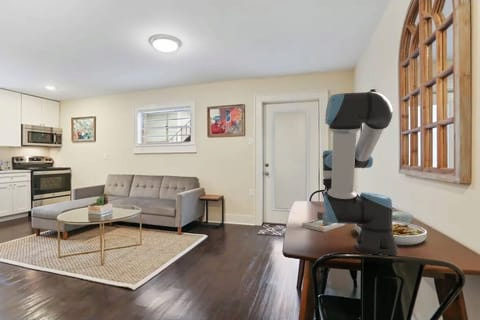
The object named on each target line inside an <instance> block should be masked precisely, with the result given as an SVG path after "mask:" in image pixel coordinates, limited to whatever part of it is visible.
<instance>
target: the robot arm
mask: <svg viewBox="0 0 480 320" xmlns="http://www.w3.org/2000/svg"><path fill="white" fill-rule="evenodd" d="M392 118H393V107H392V105H391V102H390V101H389V100H388V98H387V97H385V96H384V95H383V94H381V93H379V92H375V91H366V92H363V91H362V92H342V93H335V94H332V95H331V96H330V97H329V98H328V100H327V104H326V110H325V118H324V119H325V120H324V121H325V122H324V123H325V124H326V125H327V126H328V125H329V127H328V128H329V130H330V131H331V132H332V150H330V149H329V150H323V152H322V157H321V158H322V178H323V179H322V183H323V186H324V190H323V191H321V195H322V200H323V207H324V212H325V213H326V218H327V220H328V221H329V222H330V223H338V224H339V223H342V224H347V225H349V224H350V225H355V224H361V231H360V234H359V233H358V237H357V240H356V249H358V251H360V252H363V253H366V254H369V255H373V254H382V255H392V256H396V255H397V254H398V253H399V251H398V250H399V248H398V245H397V244H396V241H395V239H394V236H393V233H392V212H393V209H394V207H393V200H392V199H391V197H389V196H387V195H383V194H378V193H373V192H360V193H359V195H358V193H357V192H356V191H355V189H354V183H355V182H354V181H355V169H369V168H371V167H372V166H373V163H374V156H373V154H372V153H373V151H374V149H375V147H376V145H377V143H378V141H379V139H380V137H381V135H382V134H383V132H384V129H386V128H387V127H389V125H390V123H391V122H392ZM362 124H363V127H362ZM361 128H362V129H361ZM360 130H361V133H360V135H359V137H358V140H357V132H358V131H360Z"/></svg>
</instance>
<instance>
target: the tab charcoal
mask: <svg viewBox="0 0 480 320" xmlns="http://www.w3.org/2000/svg"><path fill="white" fill-rule="evenodd" d="M316 213H317V214H316V215H317V219H321V220H323V217H324V216H326V213H325V211H323V210H321V211H318V212H316Z"/></svg>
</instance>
